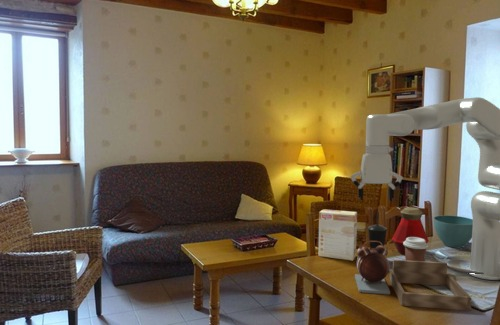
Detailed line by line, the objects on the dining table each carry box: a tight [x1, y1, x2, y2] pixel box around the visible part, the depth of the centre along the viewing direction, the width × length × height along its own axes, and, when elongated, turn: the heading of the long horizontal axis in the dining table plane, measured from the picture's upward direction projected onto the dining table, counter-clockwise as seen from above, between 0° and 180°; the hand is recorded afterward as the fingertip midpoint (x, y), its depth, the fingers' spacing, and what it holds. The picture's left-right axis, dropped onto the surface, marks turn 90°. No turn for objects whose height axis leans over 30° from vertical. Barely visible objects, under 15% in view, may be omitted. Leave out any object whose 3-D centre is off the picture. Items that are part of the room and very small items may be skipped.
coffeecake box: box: [317, 208, 358, 261], centre depth 169 cm, size 15×7×20 cm, turn 66°
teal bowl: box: [433, 214, 473, 249], centre depth 187 cm, size 18×18×12 cm
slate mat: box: [354, 273, 391, 295], centre depth 139 cm, size 10×14×1 cm
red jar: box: [391, 206, 429, 256], centre depth 174 cm, size 16×14×20 cm
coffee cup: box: [403, 237, 429, 261], centre depth 155 cm, size 9×9×12 cm
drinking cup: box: [367, 212, 388, 250], centre depth 165 cm, size 8×8×20 cm
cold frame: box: [389, 259, 472, 312], centre depth 131 cm, size 20×20×8 cm
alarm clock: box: [355, 240, 390, 283], centre depth 139 cm, size 11×5×15 cm, turn 92°
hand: (375, 199), depth 137 cm, fingers open, 9 cm apart
